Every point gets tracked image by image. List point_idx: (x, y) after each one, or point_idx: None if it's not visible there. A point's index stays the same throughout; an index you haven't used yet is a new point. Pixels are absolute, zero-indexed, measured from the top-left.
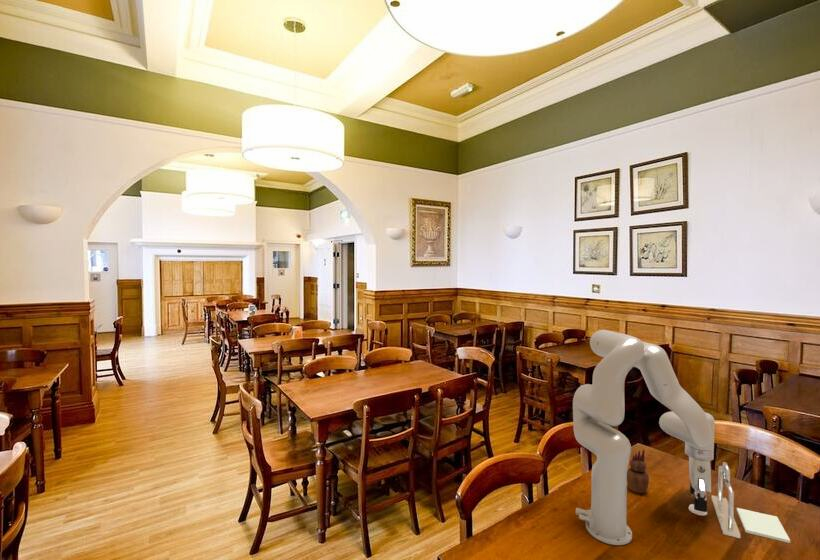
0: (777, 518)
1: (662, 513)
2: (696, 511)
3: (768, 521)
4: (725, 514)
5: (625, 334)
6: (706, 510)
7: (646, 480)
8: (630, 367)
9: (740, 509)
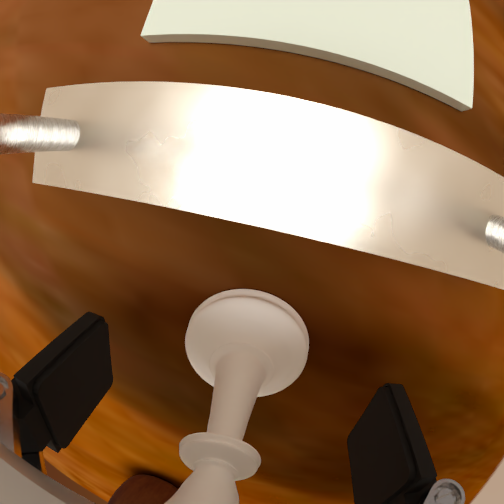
0: None
1: (319, 479)
2: (293, 377)
3: None
4: (309, 167)
5: None
6: (406, 394)
7: None
8: None
9: (163, 15)
